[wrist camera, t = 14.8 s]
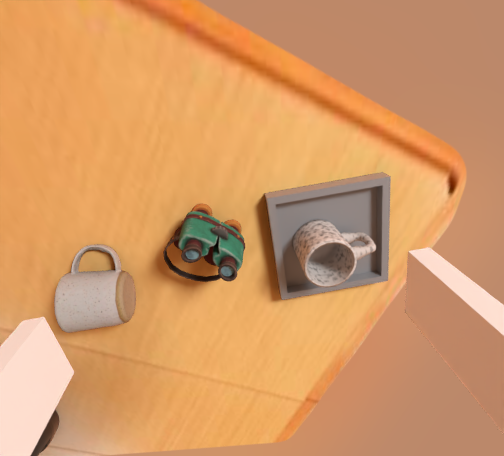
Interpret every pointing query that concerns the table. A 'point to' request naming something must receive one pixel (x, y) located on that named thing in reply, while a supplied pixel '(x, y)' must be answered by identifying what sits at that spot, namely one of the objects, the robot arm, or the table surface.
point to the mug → (329, 252)
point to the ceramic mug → (94, 296)
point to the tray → (342, 217)
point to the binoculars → (209, 244)
